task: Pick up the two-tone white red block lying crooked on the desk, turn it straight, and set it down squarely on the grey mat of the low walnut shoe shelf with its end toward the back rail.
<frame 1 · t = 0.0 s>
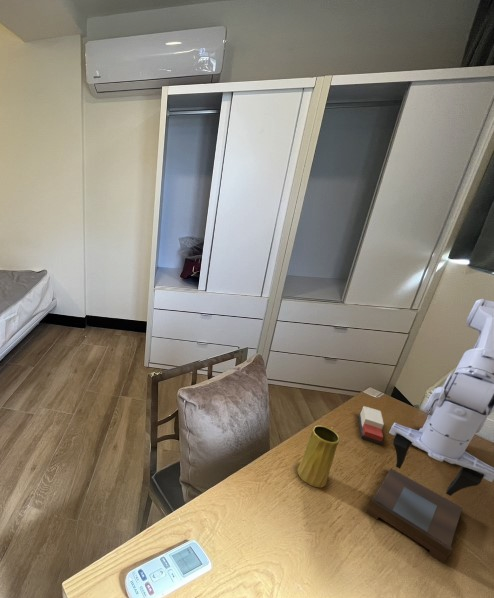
hand: (423, 478, 65), 10 cm above the table, tool pointing down, fingers open, 7 cm apart
two-tone white red block: (369, 430, 90), on the table
vase: (311, 476, 77), on the table
shoe shelf: (412, 512, 68), on the table
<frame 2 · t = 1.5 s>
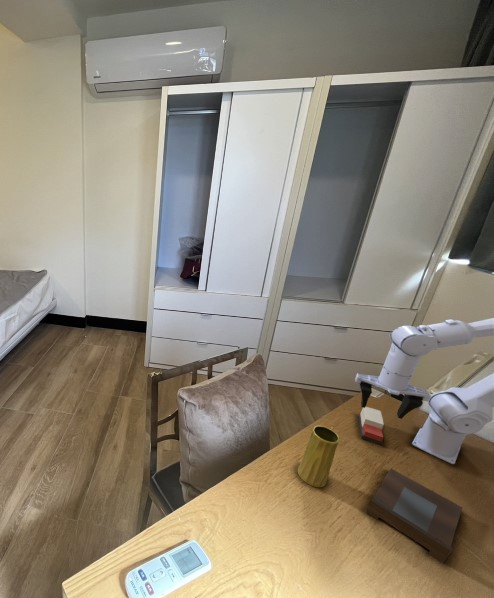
hand: (380, 410, 85), 9 cm above the table, tool pointing down, fingers open, 7 cm apart
nothing on the table moved.
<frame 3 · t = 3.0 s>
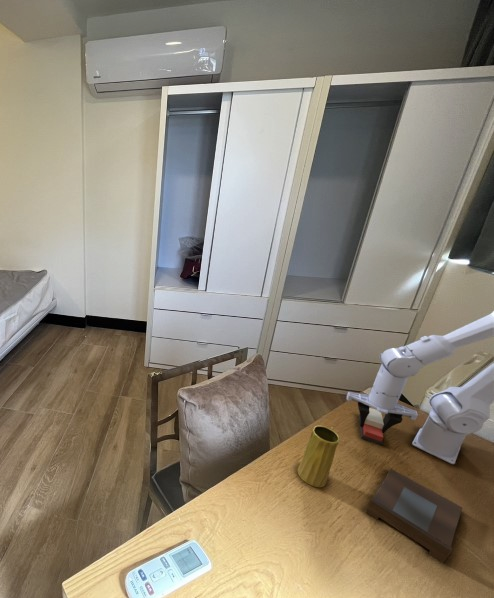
hand: (370, 427, 89), 1 cm above the table, tool pointing down, fingers closed on two-tone white red block, 4 cm apart
two-tone white red block: (369, 430, 90), on the table, touching gripper
everything else where it was.
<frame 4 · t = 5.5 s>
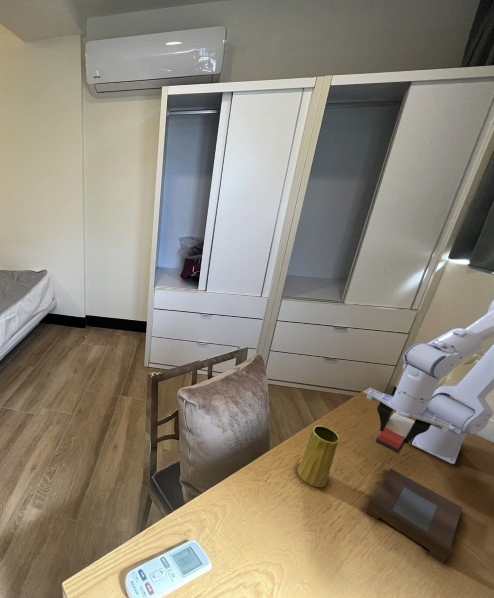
hand: (394, 435, 78), 8 cm above the table, tool pointing down, fingers closed on two-tone white red block, 4 cm apart
two-tone white red block: (392, 438, 78), point 7 cm above the table, touching gripper
everything else where it was.
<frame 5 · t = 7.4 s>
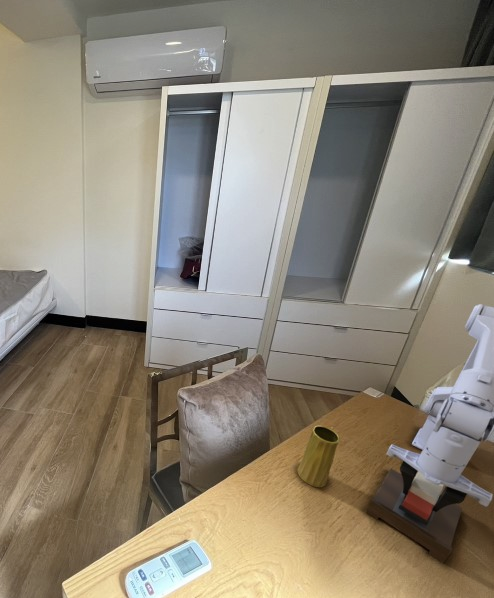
hand: (419, 499, 66), 5 cm above the table, tool pointing down, fingers closed on two-tone white red block, 4 cm apart
two-tone white red block: (418, 502, 67), point 4 cm above the table, touching gripper
everything else where it was.
when the fingers open (3 cm above the table, at t = 8.3 s): two-tone white red block stays where it is, resting on shoe shelf.
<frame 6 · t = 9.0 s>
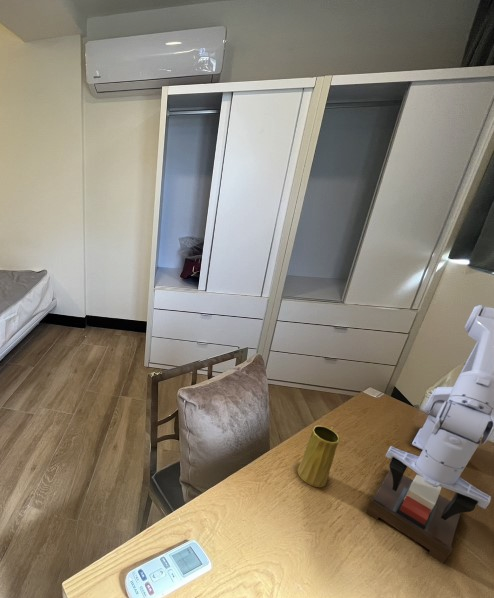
hand: (418, 501, 66), 4 cm above the table, tool pointing down, fingers open, 7 cm apart
two-tone white red block: (415, 506, 67), point 2 cm above the table, touching shoe shelf
everything else where it was.
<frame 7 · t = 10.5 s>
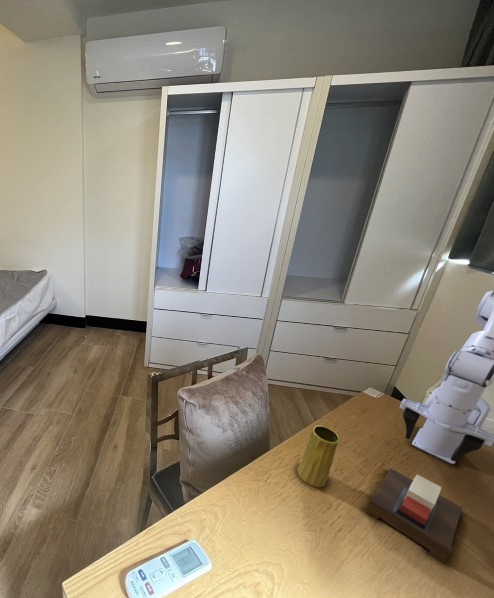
hand: (429, 447, 73), 9 cm above the table, tool pointing down, fingers open, 7 cm apart
nothing on the table moved.
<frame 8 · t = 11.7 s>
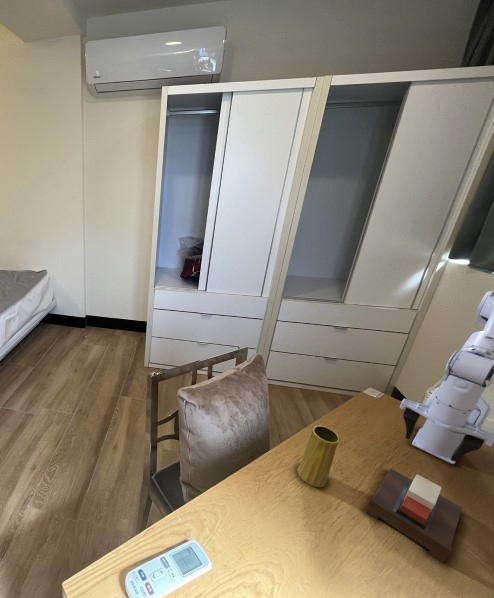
hand: (429, 447, 73), 9 cm above the table, tool pointing down, fingers open, 7 cm apart
nothing on the table moved.
at the end: two-tone white red block 1.5 cm from the target spot on the shoe shelf, point 2.1 cm above the shoe shelf's base; two-tone white red block tilted 0°; the gripper is holding nothing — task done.
